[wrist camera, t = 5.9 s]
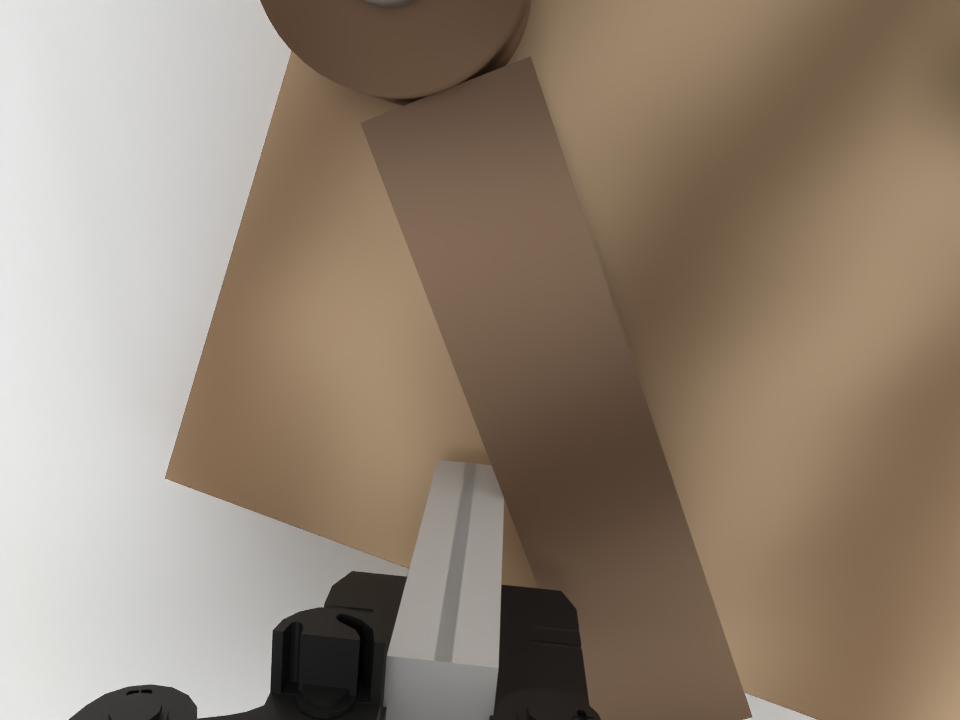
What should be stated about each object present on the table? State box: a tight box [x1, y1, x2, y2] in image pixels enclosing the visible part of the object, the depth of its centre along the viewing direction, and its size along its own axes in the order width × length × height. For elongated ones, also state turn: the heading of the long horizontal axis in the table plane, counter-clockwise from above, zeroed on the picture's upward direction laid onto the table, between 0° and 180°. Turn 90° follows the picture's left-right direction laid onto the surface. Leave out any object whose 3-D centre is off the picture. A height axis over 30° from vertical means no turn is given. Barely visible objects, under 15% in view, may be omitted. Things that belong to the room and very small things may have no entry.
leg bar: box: [260, 0, 752, 720], centre depth 15 cm, size 16×4×4 cm, turn 20°
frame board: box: [165, 0, 960, 720], centre depth 17 cm, size 18×16×1 cm
